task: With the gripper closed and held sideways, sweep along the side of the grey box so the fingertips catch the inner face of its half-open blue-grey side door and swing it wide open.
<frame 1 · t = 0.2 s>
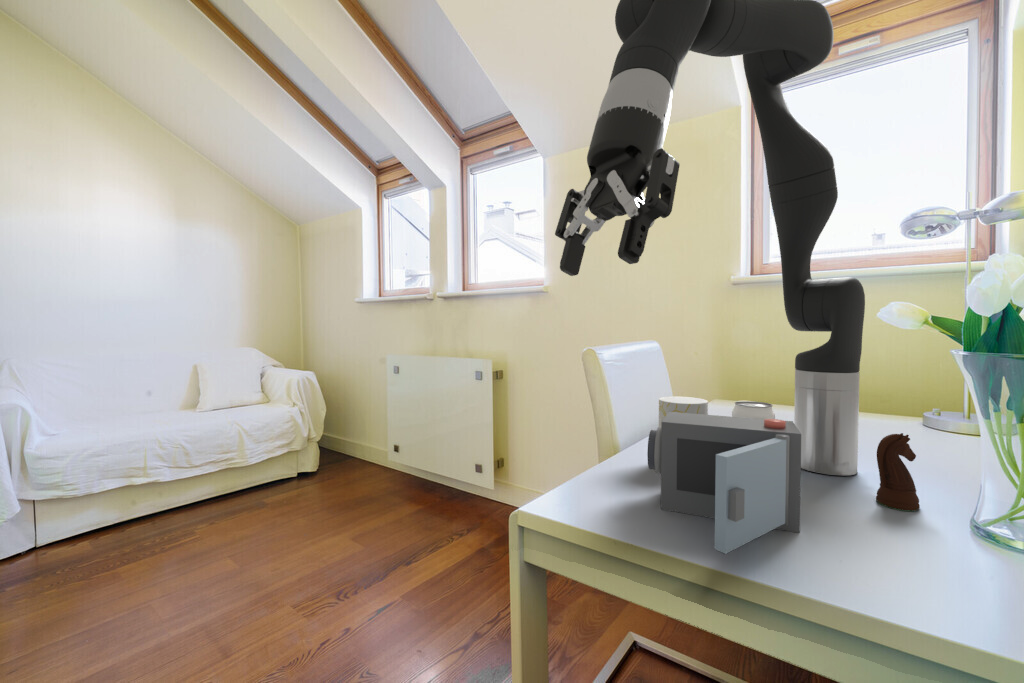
hand: (595, 267, 45), 31 cm above the table, tool tilted 20°, fingers open, 8 cm apart
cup: (682, 468, 79), on the table
can: (752, 475, 75), on the table
chess piece: (895, 506, 62), on the table
side door: (758, 491, 49), point 7 cm above the table, hinge at 60.0°
grey box: (726, 508, 60), on the table
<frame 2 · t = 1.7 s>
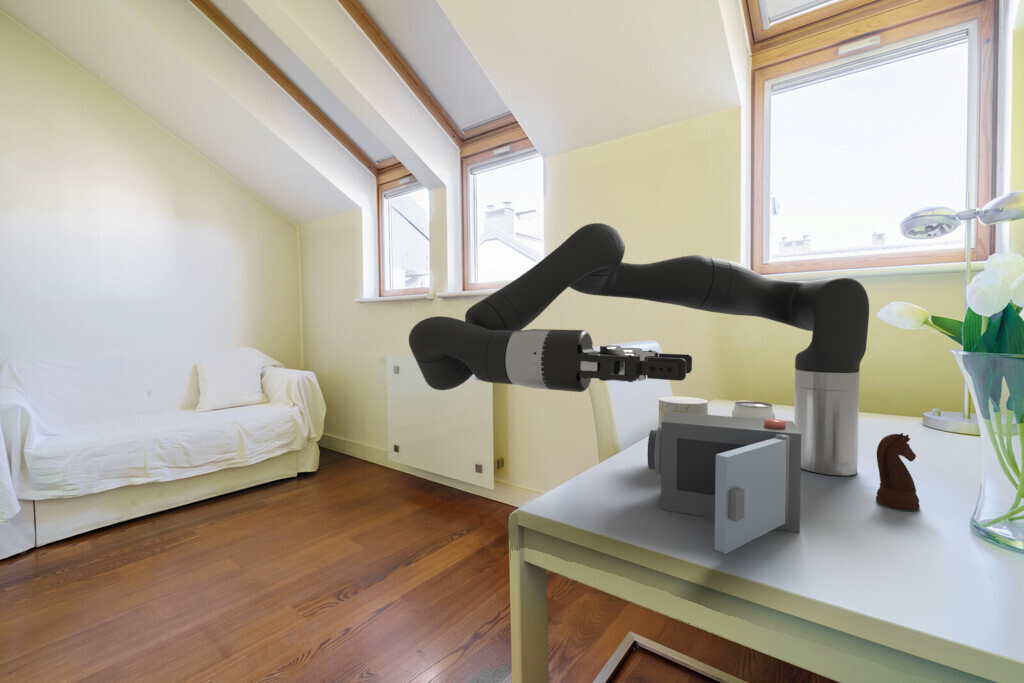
hand: (689, 366, 48), 20 cm above the table, tool horizontal, fingers open, 8 cm apart
nothing on the table moved.
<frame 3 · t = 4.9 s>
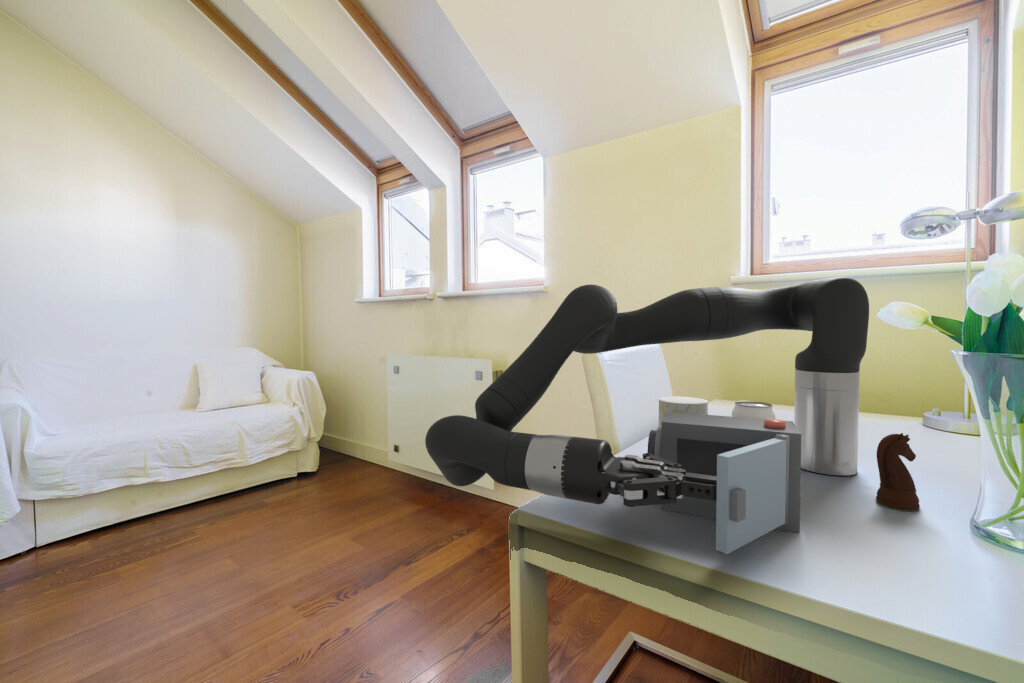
hand: (722, 489, 47), 7 cm above the table, tool horizontal, fingers closed
side door: (758, 491, 49), point 6 cm above the table, hinge at 60.7°, touching gripper
everything else where it was.
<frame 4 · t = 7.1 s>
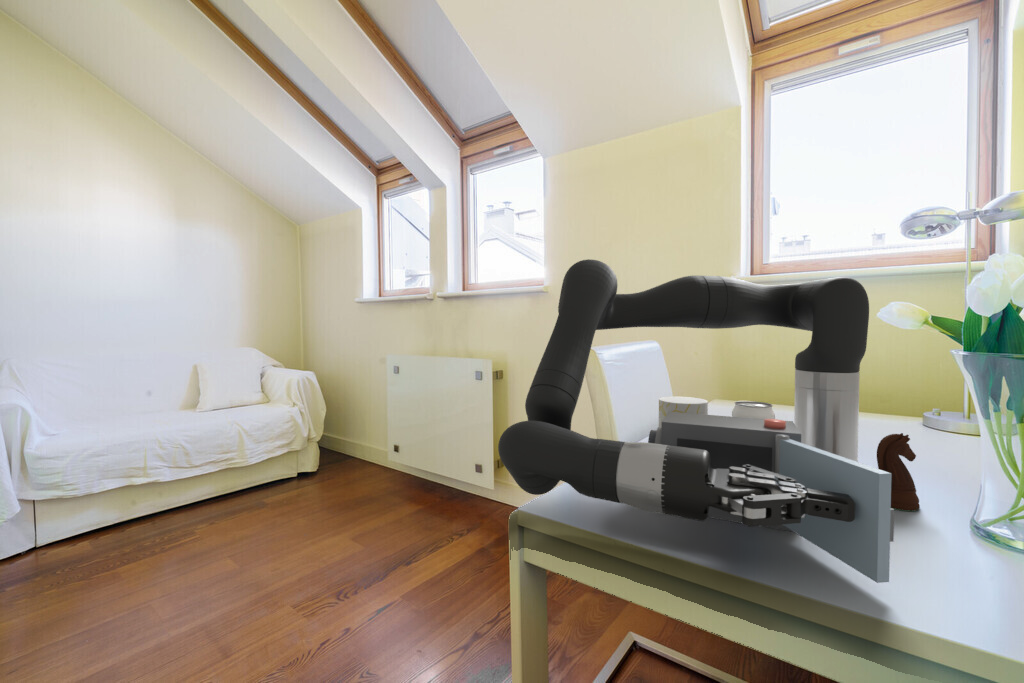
hand: (852, 508, 42), 7 cm above the table, tool horizontal, fingers closed
side door: (826, 499, 47), point 6 cm above the table, hinge at 122.2°, touching gripper
everything else where it was.
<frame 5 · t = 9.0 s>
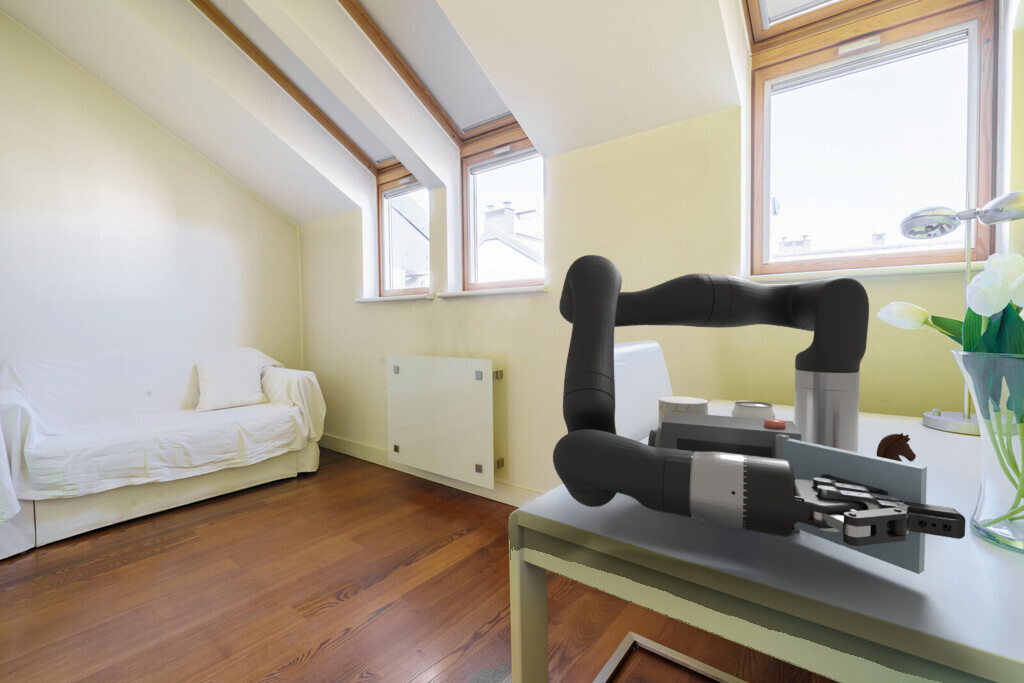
hand: (960, 523, 39), 7 cm above the table, tool horizontal, fingers closed
side door: (841, 495, 48), point 6 cm above the table, hinge at 145.6°, touching gripper, hand
everything else where it was.
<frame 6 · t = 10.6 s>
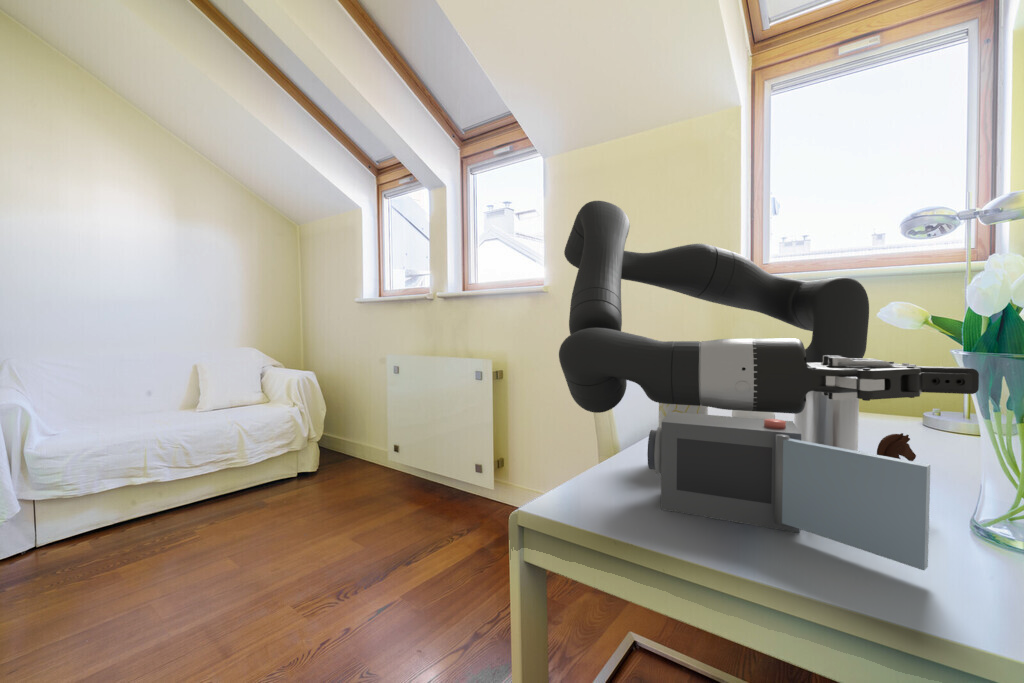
hand: (973, 380, 38), 20 cm above the table, tool horizontal, fingers closed
side door: (843, 494, 48), point 6 cm above the table, hinge at 151.0°
everything else where it was.
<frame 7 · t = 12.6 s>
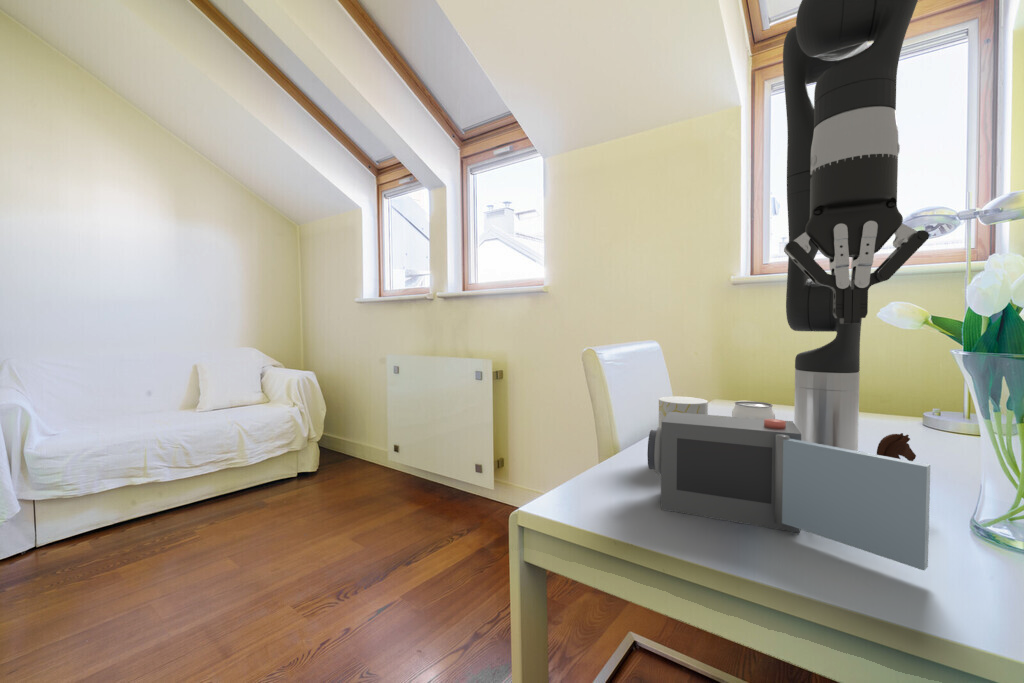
hand: (849, 323, 49), 25 cm above the table, tool pointing down, fingers closed
nothing on the table moved.
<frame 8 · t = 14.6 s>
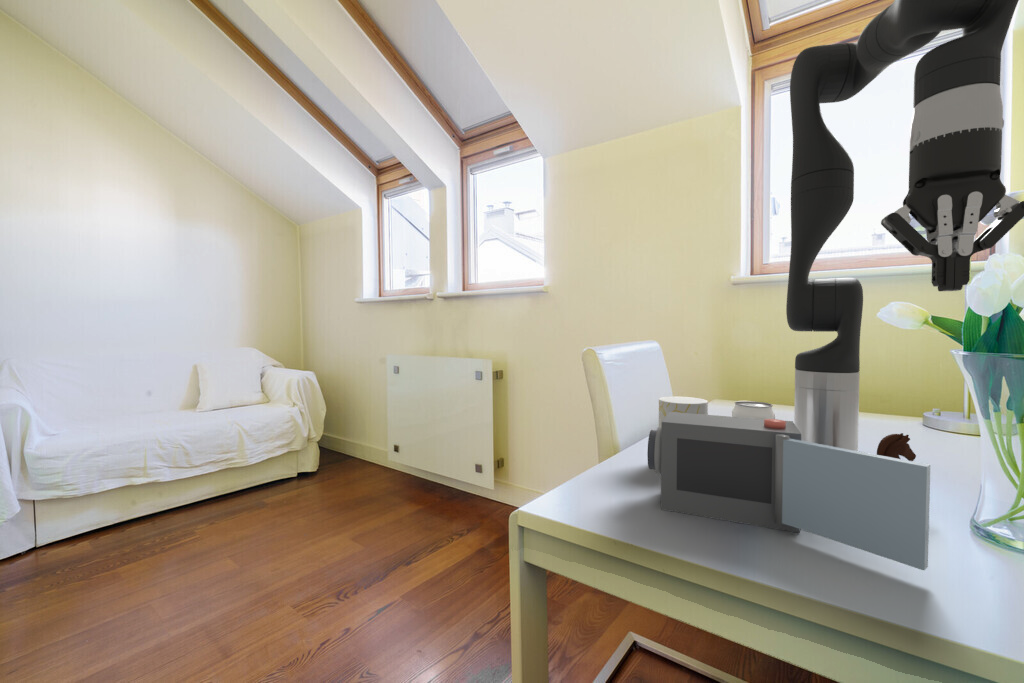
hand: (949, 290, 51), 29 cm above the table, tool pointing down, fingers closed
nothing on the table moved.
at the end: side door at +151° (first picture: +60°); side door touching nothing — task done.
